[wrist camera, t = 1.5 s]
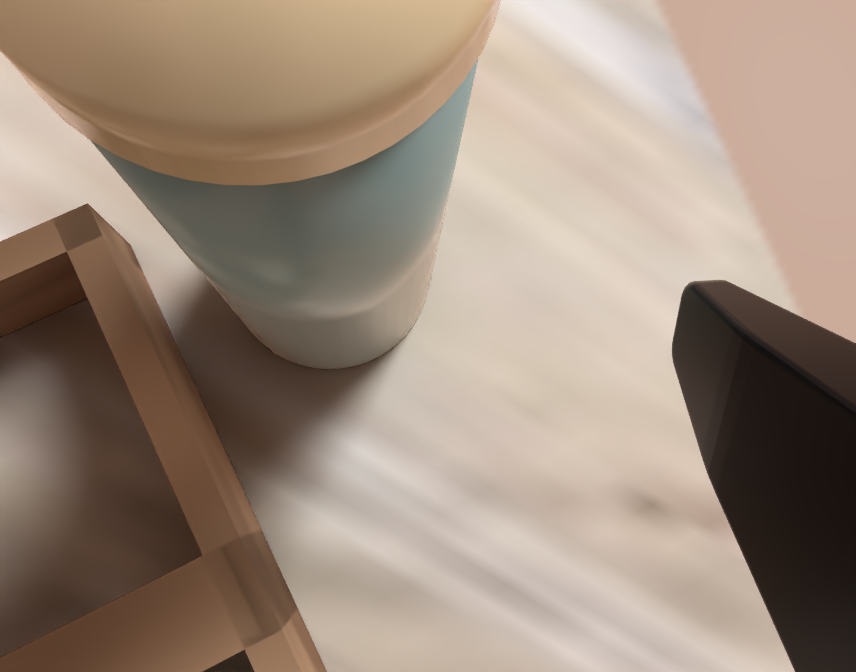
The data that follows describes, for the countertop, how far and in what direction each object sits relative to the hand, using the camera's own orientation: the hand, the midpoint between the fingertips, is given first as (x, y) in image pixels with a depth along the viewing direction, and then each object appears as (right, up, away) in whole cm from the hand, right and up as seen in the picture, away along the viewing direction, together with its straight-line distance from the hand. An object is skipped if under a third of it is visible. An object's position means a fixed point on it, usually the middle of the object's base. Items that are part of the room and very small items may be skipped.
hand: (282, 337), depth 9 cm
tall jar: (-1, +2, +12) cm, 12 cm away
